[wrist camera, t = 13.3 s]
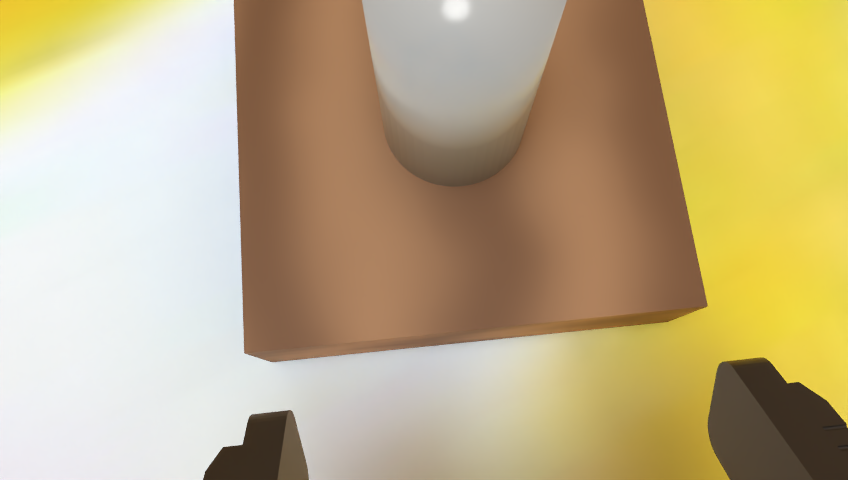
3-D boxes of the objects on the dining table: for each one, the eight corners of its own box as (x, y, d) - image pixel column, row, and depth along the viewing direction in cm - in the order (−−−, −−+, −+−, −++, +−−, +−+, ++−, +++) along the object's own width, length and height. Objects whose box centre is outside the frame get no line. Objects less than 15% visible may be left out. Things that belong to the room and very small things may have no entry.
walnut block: (272, 361, 23) (244, 353, 20) (257, 12, 27) (232, -46, 23) (667, 321, 23) (707, 306, 20) (600, -20, 27) (625, -83, 23)
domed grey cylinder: (389, 193, 21) (366, 75, 14) (378, 63, 22) (351, -108, 15) (533, 179, 21) (586, 55, 14) (514, 50, 22) (554, -127, 15)
